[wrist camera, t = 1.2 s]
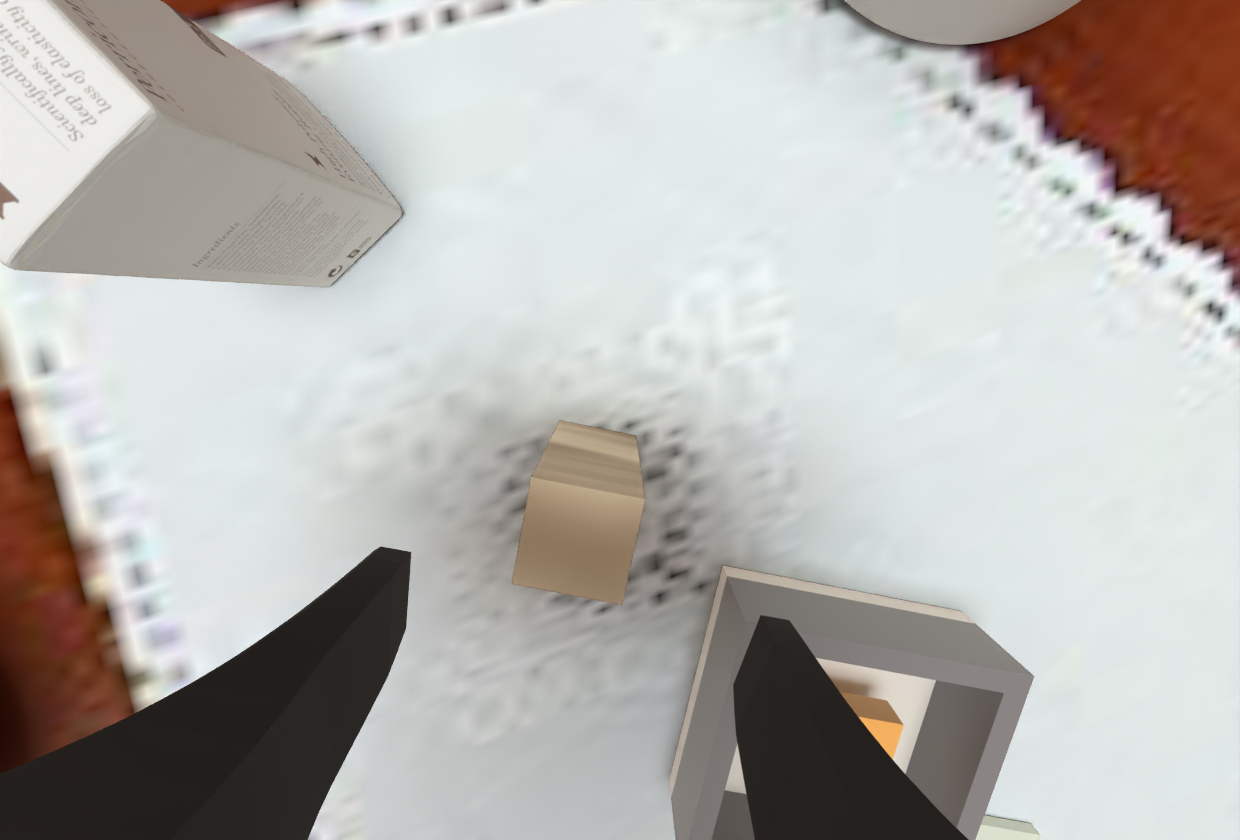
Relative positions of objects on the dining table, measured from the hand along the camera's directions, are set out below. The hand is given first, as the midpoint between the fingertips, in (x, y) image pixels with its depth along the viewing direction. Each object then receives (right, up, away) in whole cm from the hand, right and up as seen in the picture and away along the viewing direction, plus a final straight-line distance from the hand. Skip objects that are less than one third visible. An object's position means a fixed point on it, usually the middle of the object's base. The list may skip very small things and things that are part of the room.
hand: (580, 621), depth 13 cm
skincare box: (-10, +12, +10) cm, 19 cm away
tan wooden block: (0, +2, +12) cm, 12 cm away
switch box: (+9, -7, +13) cm, 18 cm away
